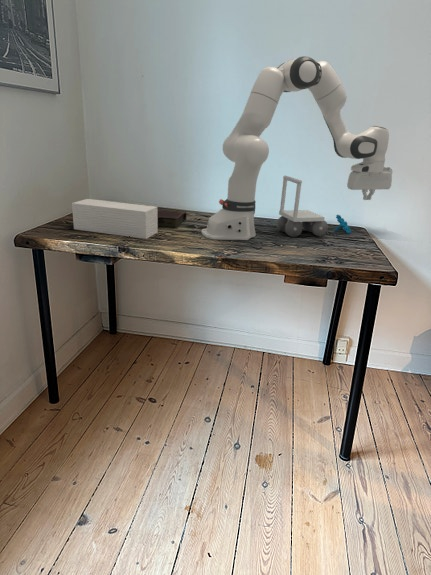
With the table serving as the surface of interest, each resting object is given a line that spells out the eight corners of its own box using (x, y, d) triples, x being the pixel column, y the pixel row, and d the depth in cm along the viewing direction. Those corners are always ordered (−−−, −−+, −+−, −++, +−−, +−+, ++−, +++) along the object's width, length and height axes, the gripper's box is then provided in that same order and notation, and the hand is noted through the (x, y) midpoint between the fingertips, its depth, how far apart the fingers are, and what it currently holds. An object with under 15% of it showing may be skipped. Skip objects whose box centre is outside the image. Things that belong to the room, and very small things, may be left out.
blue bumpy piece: (349, 232, 176) (336, 213, 177) (337, 240, 179) (325, 221, 180) (354, 231, 185) (342, 213, 187) (343, 238, 188) (331, 221, 190)
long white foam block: (157, 233, 168) (157, 206, 163) (146, 239, 158) (145, 211, 154) (88, 224, 176) (87, 198, 172) (73, 229, 166) (71, 202, 162)
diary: (134, 216, 194) (134, 206, 193) (186, 221, 191) (186, 210, 189) (120, 225, 177) (119, 213, 175) (176, 230, 174) (176, 218, 172)
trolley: (288, 238, 168) (295, 180, 159) (274, 230, 181) (279, 175, 172) (328, 237, 174) (337, 180, 165) (312, 228, 186) (320, 175, 177)
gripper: (388, 166, 181) (382, 198, 186) (347, 166, 175) (342, 198, 180) (397, 168, 175) (391, 200, 180) (356, 168, 169) (351, 201, 175)
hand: (366, 199), depth 180 cm, fingers closed
